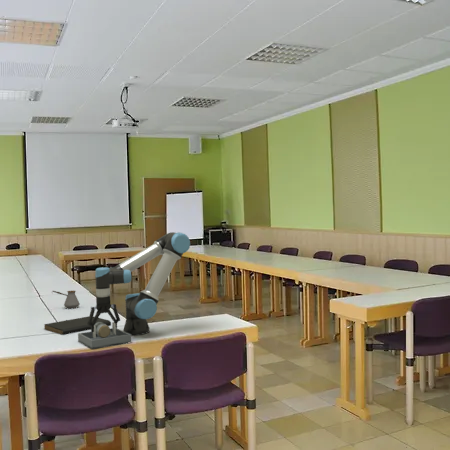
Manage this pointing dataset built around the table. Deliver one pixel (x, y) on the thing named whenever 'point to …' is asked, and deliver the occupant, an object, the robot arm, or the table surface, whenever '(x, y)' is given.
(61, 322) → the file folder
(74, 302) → the coffee pot
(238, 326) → the table surface
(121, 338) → the bin
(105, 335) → the ceramic mug
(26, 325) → the table surface
